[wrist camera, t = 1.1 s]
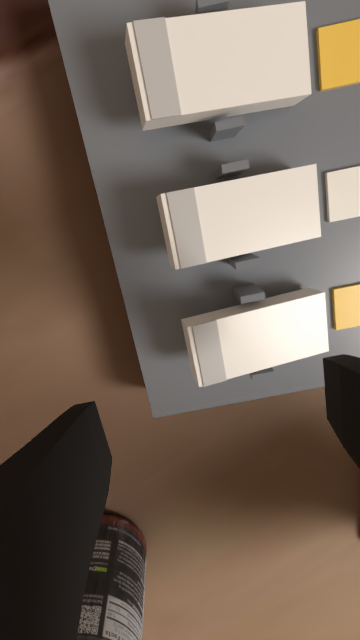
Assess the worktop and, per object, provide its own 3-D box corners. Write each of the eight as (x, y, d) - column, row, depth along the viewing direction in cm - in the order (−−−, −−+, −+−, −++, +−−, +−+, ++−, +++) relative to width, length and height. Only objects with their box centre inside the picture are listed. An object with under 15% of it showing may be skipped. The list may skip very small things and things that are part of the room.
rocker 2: (299, 168, 14) (317, 163, 12) (304, 235, 14) (322, 236, 13) (156, 197, 13) (160, 193, 12) (170, 266, 14) (175, 270, 12)
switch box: (339, -28, 14) (418, -142, 10) (355, 351, 20) (411, 393, 15) (69, 32, 15) (24, -49, 10) (155, 389, 20) (151, 440, 16)
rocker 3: (308, 287, 15) (325, 292, 14) (313, 342, 16) (329, 351, 15) (181, 319, 14) (187, 327, 13) (192, 375, 15) (199, 388, 14)
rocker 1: (287, 22, 12) (306, -1, 11) (294, 105, 13) (312, 93, 12) (124, 43, 11) (126, 22, 10) (142, 131, 12) (146, 120, 11)
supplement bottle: (86, 583, 25) (22, 869, 14) (46, 526, 23) (-62, 801, 12) (161, 558, 24) (155, 834, 13) (126, 497, 22) (87, 758, 12)
